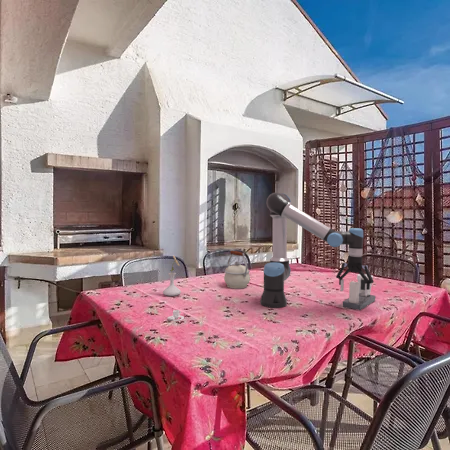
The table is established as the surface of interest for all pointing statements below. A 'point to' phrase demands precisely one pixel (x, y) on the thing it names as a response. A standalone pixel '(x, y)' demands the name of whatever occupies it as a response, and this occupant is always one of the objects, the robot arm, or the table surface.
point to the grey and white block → (360, 298)
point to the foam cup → (360, 282)
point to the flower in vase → (172, 283)
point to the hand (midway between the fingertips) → (353, 293)
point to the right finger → (354, 292)
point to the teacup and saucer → (175, 316)
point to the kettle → (237, 273)
